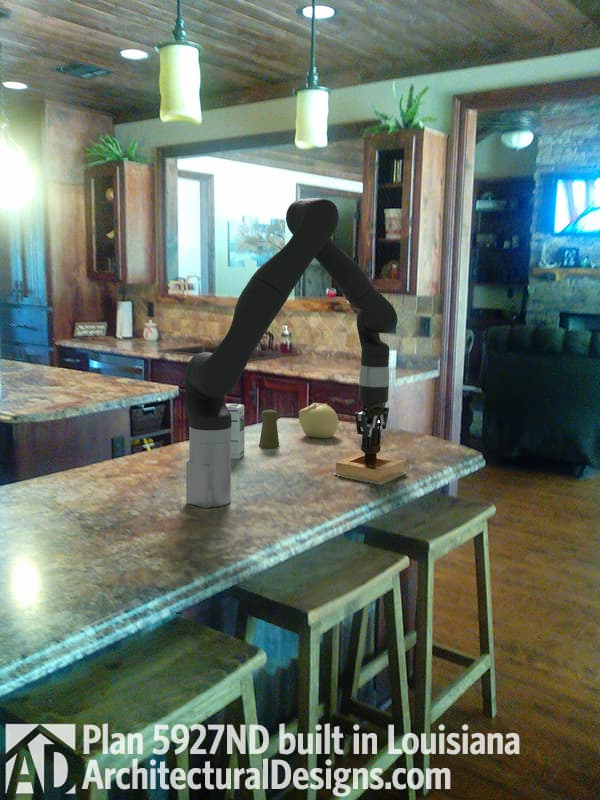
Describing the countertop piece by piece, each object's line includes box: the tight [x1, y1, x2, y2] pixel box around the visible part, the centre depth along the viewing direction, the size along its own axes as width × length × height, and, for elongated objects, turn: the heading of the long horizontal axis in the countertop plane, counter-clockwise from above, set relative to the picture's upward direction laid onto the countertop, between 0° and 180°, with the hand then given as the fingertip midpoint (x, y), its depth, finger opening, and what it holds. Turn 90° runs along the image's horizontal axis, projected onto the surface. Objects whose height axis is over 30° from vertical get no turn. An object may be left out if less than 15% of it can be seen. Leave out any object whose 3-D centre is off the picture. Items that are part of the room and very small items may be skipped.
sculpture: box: [298, 402, 340, 439], centre depth 228 cm, size 11×12×11 cm
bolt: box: [360, 408, 384, 466], centre depth 185 cm, size 6×5×15 cm
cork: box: [258, 409, 280, 450], centre depth 213 cm, size 6×6×11 cm
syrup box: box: [226, 403, 245, 460], centre depth 200 cm, size 6×6×14 cm
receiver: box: [332, 452, 407, 486], centre depth 187 cm, size 14×14×3 cm
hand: (371, 448), depth 186 cm, fingers closed on bolt, 4 cm apart
